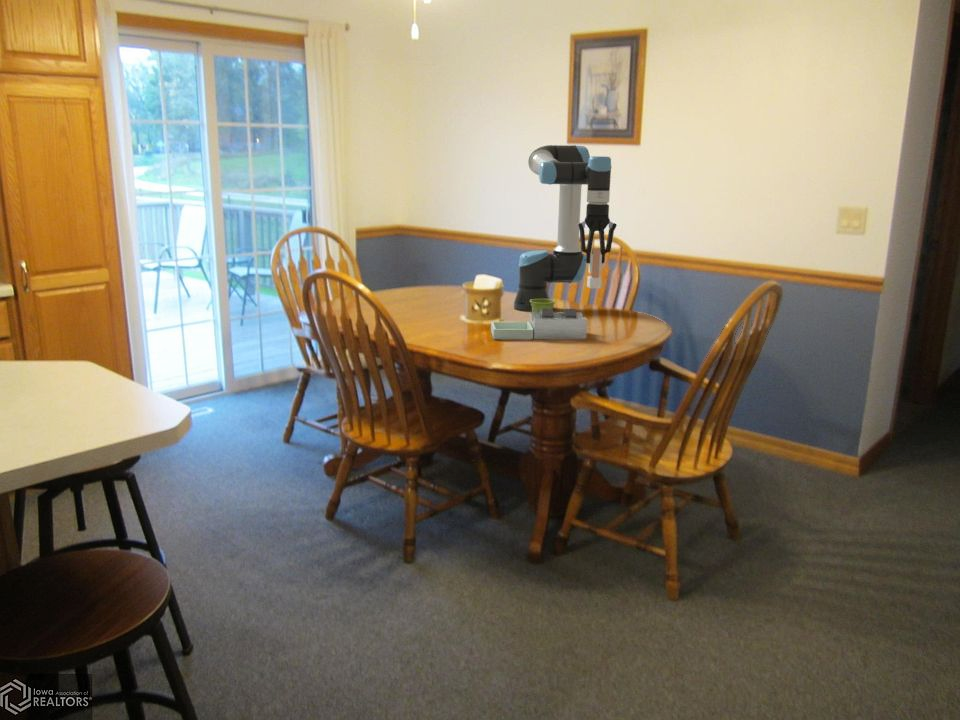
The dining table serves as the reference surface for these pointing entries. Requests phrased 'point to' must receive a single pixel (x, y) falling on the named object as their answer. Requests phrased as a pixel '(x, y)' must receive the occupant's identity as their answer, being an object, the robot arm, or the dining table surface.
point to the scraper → (595, 271)
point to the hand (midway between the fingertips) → (594, 272)
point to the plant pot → (541, 304)
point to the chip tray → (511, 331)
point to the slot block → (558, 326)
